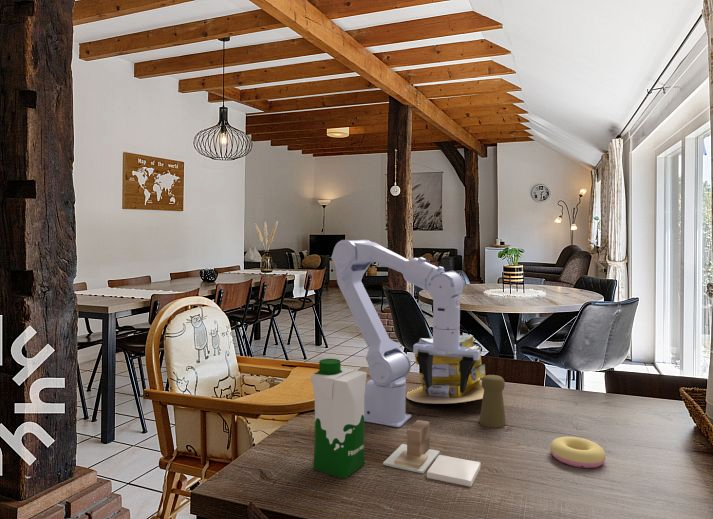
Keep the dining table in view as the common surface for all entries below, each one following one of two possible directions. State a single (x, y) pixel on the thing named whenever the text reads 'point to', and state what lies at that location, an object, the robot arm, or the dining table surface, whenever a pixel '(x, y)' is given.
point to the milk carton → (338, 418)
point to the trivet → (390, 462)
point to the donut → (577, 452)
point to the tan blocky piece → (416, 445)
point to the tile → (454, 470)
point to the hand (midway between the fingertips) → (445, 388)
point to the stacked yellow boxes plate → (449, 378)
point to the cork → (492, 402)
